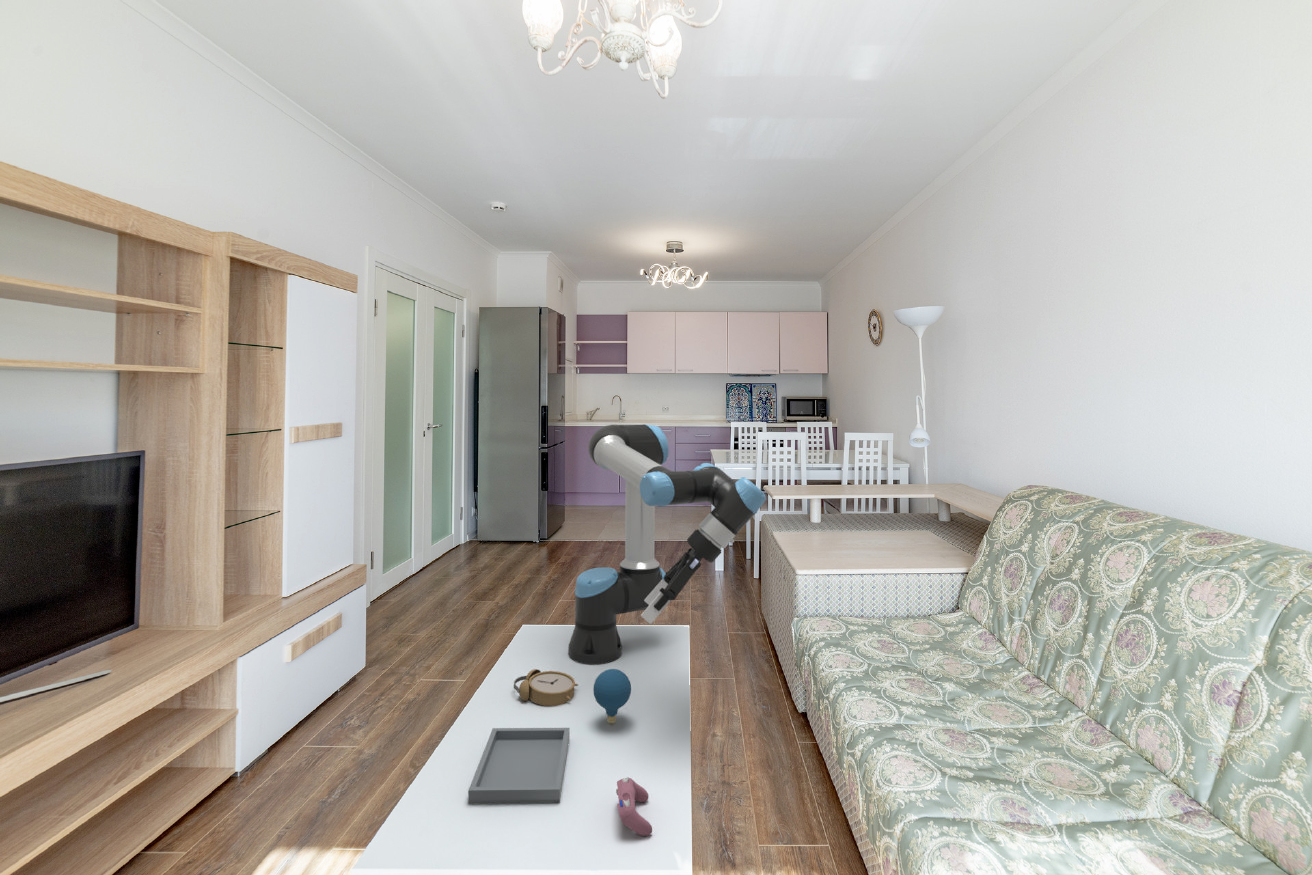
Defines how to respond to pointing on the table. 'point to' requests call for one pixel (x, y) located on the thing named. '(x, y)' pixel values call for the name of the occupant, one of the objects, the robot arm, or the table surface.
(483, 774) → the tray
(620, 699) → the light bulb
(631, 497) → the robot arm
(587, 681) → the table surface
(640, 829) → the video game controller
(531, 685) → the alarm clock
